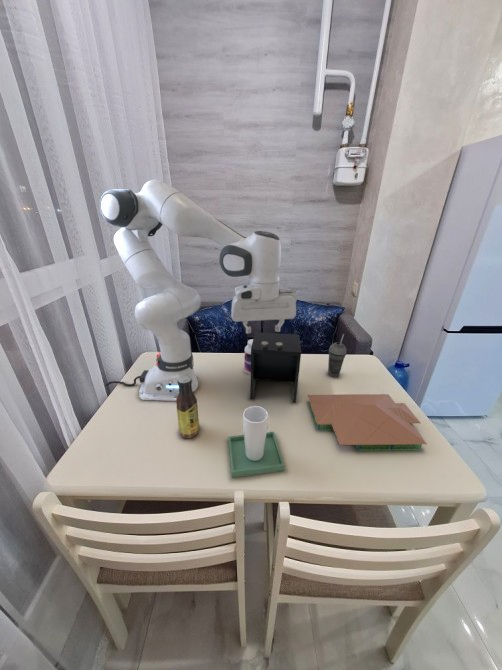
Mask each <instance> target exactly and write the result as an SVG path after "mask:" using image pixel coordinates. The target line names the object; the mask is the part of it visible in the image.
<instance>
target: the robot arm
mask: <svg viewBox="0 0 502 670" xmlns="http://www.w3.org/2000/svg"><path fill="white" fill-rule="evenodd" d="M99 210H100V213H101V215H102V217H103V219H104V220H105V221H106V222H107V223H108V224H110V225H112V226H114V227H117V228H120V229H119V230H117V231H116V233H115V234H114V235H113V243H114V246H115V248H116V251H117V253H118V256H119V257H120V259H121V261H122V263H123V264H124V267H125V268H126V270H127V271H128V272H129V274H130V276H131V278H132V280H133V281H134V282H135V284H136V285H137V286H138V287H140V288H141V289H145V290H148V291H151V292H152V293H154V295H151V296H148V297H146V298H144V299H142V300H141V301H140V302H137V304H136V305H135V308H134V317H135V318H134V319H135V320H136V322H137V324H138V325H139V326H140V327H141V328H143V329H144V330H146V331H148V332H151V333H152V334H153V335H154V336H155V338H156V340H157V343H158V346H159V351H160V352H157V353H156V360H155V365H154V366H152V367H151V368H149V369H144V370H143V372H142V373H141V374H140V375H138V376H136V377H135V378H134V379H133V383H126V382H124V381H118V380H113V381H109V382H107V383H106V384H105V386H106V387H108V386H109V385H112V384H119V385H120V384H121V385H123V386H126V387H133V386H135V385H136V384H137V380H139V383H141V385H140V387H139V391H138V396H139V399H140V400H142V401H164V402H165V401H166V402H176V398H177V395H178V394H179V385H178V382H177V380H178V378H179V377H181V376H190V377H191V379H192V383H191V385H192V391H193V393H194V392H195V391H196V390H197V389H198V387H199V381H198V379H197V376H196V372H195V370H194V365H195V361H194V356H193V355H194V354H193V352H192V347H191V337H190V335H189V334H188V333H187V332H186V331H185V330H183V329H180V328H179V326H178V325H179V324H178V323H179V322H180V321H182V320H184V319H186V318H189V317H191V316H192V315H194V314H195V313H196V312H198V311H199V310H200V309H201V307H202V298H201V295H200V294H199V292H198V291H197V290H196V289H195V288H194V287H191V286H189V285H186V284H184V283H183V282H181V281H180V280H178V279H177V278H176V277H174V275H172V274H171V272H170V271H168V269H167V268H166V266H165V265H164V264H163V262H162V260H161V259H160V257H159V255H158V254H157V252H156V251H155V249H154V248H153V246H152V244H151V243H150V241H149V237H153V236H155V235H156V233H157V231H159V230H160V229H161V228H162V226H164V227H165V228H167V229H168V230H169V231H171V232H172V233H175V234H176V235H179V236H181V237H185V238H186V237H187V238H189V237H190V238H202V239H208V240H210V241H213V242H215V243H217V244H218V245H220V246H221V247H223V248H222V249H221V250H220V253H219V256H218V261H219V267H220V268H221V270H222V271H223V273H224V274H226V275H227V276H228V277H232V278H240V277H248V278H249V282H246V283H244V284H241V285H239V286H236V287H235V288H234V296H233V297H232V300H231V305H230V306H231V307H230V309H231V310H230V317H231V320H232V321H233V322H237V323H238V322H242V324H243V326H244V329H245V334H252V327H251V326H249V325H248V324H249V322H255V321H256V322H257V321H275V320H276V321H277V320H278V323H277V324H275V325H274V333H279V332H281V328H282V327H283V325H284V323H285V320H294V319H295V317H296V316H297V301H298V292H297V291H296V290H294V289H293V288H288V289H286V288H285V289H284V288H282V289H280V287H281V286H280V285H281V278H280V269H281V266H282V244H281V239H280V237H279V236H278V235H277V234H275V233H272V232H269V231H263V230H256V231H253V232H252V233H251V234H250V235H249V236H247V237H246V236H244V235H242V234H240V233H239V232H238V231H236V230H234V229H233V228H232V227H230V226H228V225H227V224H225V223H224V222H223V221H221V220H219V219H218V218H217V217H214V216H213V215H211V214H210V213H209V212H208V211H206V210H205V209H203V208H202V207H201V206H199V205H198V204H196V203H195V202H194V201H193V200H191V198H189V197H187V195H185V194H183V193H182V192H181V191H179V189H177V188H175V187H174V186H171V185H170V184H168V183H165V182H164V181H162V180H158V179H150V180H148V181H147V182H146V183H144V184H143V186H142V188H141V190H140V191H139V192H133V190H132V189H130V188H129V189H127V188H126V189H125V188H124V189H123V188H122V189H121V188H114V189H113V188H112V189H108V190H105V192H103V194H102V195H101V197H100V201H99Z"/></svg>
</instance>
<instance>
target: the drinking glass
mask: <svg viewBox="0 0 502 670" xmlns="http://www.w3.org/2000/svg"><path fill="white" fill-rule="evenodd" d="M268 425H269V413H268V410H267V409H265V408H264V407H263V406H259V405H250V406H248V407H247V408H245V409H244V411H243V413H242V432H243V435H244V441H245V454H246V456H247V458H248V459H250V460H252V461H258V460H260V459H261V458H262V457H263V455H264V446H265V440H266V434H267V432H268V427H269V426H268Z"/></svg>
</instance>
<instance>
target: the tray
mask: <svg viewBox="0 0 502 670" xmlns="http://www.w3.org/2000/svg"><path fill="white" fill-rule="evenodd" d="M227 439H228V450H229V451H228V452H229V461H230V470H231V478H239V477H247V476H253V475H254V476H255V475H261V474H269V473H277V472H284V471H285V463H284V459H283V456H282V453H281V450H280V447H279V444H278V440H277V438H276V435H275V432H274V431H267V434H266V440H265V446H264V455H263V457H262V458H261V459H260V460H258V461H252V460H250V459H248V458H247V456H246V454H245V441H244V434H241V435H232V436H228V437H227Z"/></svg>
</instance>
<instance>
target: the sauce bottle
mask: <svg viewBox="0 0 502 670" xmlns="http://www.w3.org/2000/svg"><path fill="white" fill-rule="evenodd" d="M177 382H178V385H179V394H178V395H177V398H176V401H175V402H176V403H175V404H176V415H177V424H178V430H179V434H180V436H181V437H182V438H184V439H192V438H194V437H196V436H197V435H198V433H199V431H200V419H199V407H198V399H197V397H196V394H195V393H194V392H193V391H192V385H191V383H192V379H191V377H190V376H181V377H179V378H178V380H177Z"/></svg>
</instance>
